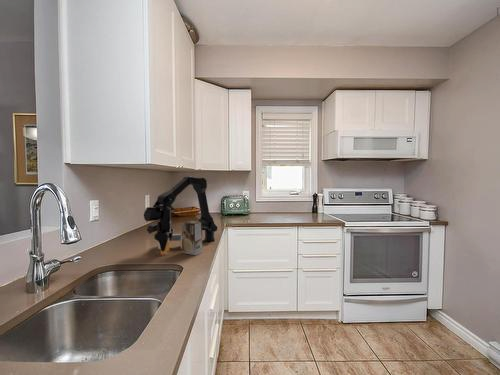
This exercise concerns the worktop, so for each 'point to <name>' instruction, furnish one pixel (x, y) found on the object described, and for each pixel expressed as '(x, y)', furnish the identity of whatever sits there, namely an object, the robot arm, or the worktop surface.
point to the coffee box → (192, 237)
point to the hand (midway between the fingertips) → (164, 248)
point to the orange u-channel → (165, 249)
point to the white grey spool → (174, 239)
